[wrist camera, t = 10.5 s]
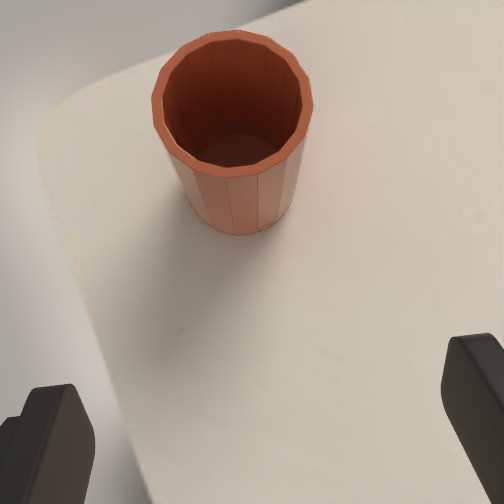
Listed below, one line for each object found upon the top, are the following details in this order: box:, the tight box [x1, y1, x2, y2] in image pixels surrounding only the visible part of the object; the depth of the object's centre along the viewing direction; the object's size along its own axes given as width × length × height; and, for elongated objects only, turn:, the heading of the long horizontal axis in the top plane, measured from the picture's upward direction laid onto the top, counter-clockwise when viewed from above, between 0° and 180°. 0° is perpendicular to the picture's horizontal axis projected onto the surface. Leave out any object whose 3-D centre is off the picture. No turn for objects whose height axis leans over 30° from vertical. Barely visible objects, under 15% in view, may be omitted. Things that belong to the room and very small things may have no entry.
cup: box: [151, 30, 313, 235], centre depth 21 cm, size 6×6×8 cm
